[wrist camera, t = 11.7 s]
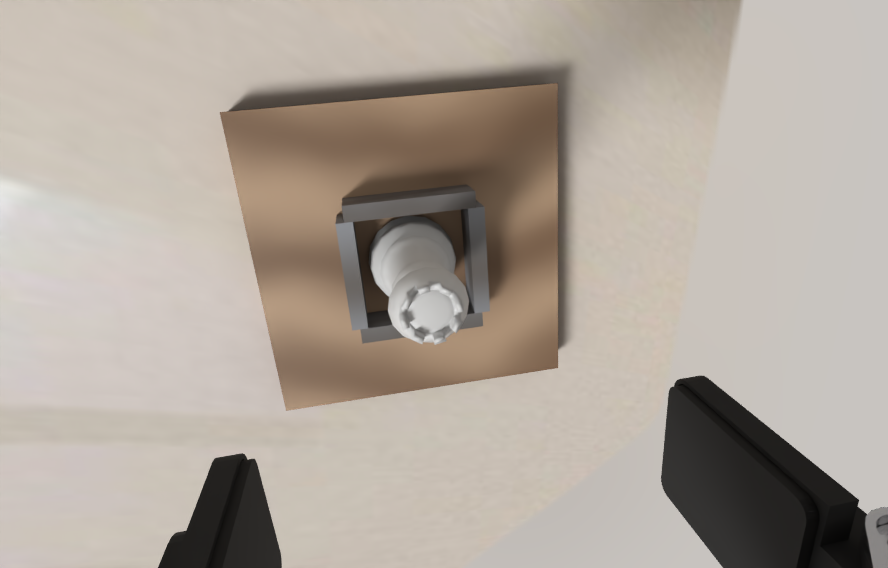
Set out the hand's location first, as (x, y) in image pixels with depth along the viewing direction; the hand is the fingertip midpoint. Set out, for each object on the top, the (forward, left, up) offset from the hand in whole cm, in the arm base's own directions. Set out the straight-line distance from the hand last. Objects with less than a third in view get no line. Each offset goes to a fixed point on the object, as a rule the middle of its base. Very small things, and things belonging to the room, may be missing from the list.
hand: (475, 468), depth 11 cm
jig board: (0, 0, -18) cm, 18 cm away
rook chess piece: (0, 0, -17) cm, 17 cm away
